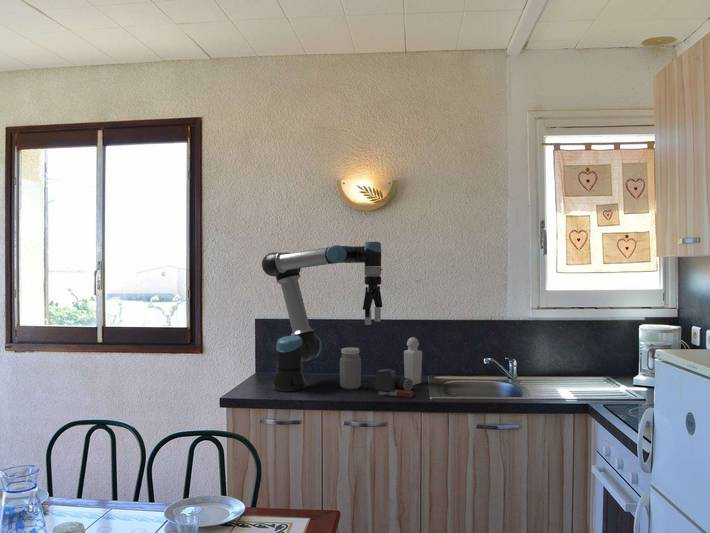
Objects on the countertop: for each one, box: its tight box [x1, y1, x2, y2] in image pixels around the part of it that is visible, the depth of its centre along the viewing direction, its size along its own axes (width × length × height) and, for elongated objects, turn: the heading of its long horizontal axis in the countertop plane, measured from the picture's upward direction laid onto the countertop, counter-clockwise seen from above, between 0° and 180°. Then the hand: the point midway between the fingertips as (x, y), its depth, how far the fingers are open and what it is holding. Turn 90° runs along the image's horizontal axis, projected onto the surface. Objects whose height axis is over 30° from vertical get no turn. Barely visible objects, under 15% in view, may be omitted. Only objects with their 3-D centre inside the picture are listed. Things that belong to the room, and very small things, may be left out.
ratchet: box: [377, 389, 414, 399], centre depth 236 cm, size 15×6×6 cm, turn 70°
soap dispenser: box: [403, 336, 423, 386], centre depth 260 cm, size 6×6×22 cm
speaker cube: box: [374, 368, 397, 391], centre depth 238 cm, size 7×7×8 cm
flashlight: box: [395, 375, 414, 391], centre depth 252 cm, size 15×5×5 cm, turn 33°
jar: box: [339, 346, 362, 390], centre depth 251 cm, size 10×10×18 cm
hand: (372, 323), depth 244 cm, fingers open, 13 cm apart
